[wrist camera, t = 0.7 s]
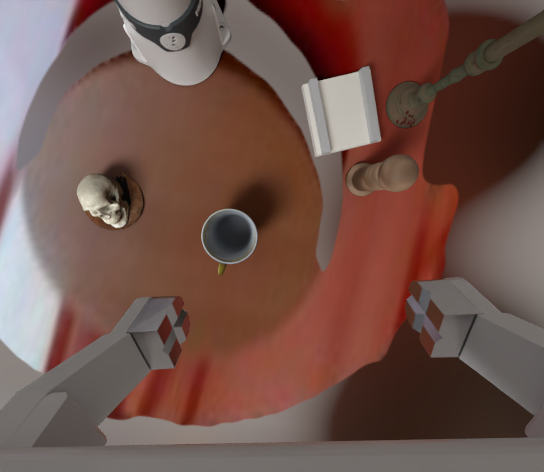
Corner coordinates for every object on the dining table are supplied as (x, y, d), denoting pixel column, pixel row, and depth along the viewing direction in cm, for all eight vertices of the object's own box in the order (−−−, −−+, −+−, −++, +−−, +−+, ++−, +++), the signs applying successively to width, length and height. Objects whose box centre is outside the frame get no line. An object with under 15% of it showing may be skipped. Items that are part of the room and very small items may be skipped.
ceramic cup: (217, 201, 51) (208, 201, 41) (262, 213, 52) (264, 217, 42) (203, 258, 53) (191, 272, 43) (247, 269, 54) (245, 285, 44)
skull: (152, 224, 50) (95, 236, 42) (132, 225, 56) (79, 235, 48) (138, 165, 47) (74, 166, 40) (118, 173, 54) (60, 175, 46)
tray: (301, 87, 49) (304, 80, 46) (366, 72, 49) (373, 64, 46) (315, 157, 51) (319, 154, 48) (377, 142, 52) (385, 138, 49)
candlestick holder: (380, 122, 51) (554, 17, 22) (392, 77, 50) (595, -100, 20) (419, 133, 52) (636, 46, 22) (432, 89, 51) (680, -64, 21)
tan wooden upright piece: (342, 167, 52) (383, 153, 36) (373, 160, 52) (427, 142, 36) (348, 199, 53) (390, 199, 37) (378, 191, 53) (433, 188, 37)
